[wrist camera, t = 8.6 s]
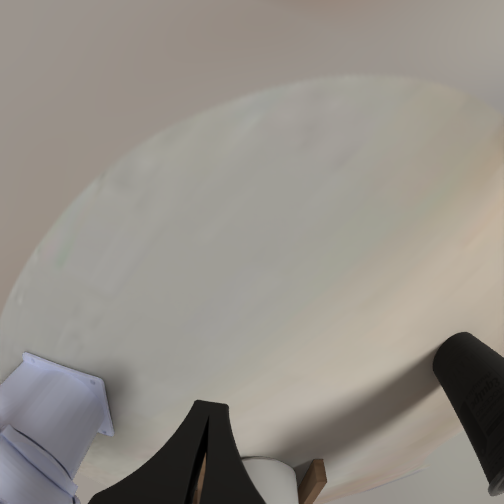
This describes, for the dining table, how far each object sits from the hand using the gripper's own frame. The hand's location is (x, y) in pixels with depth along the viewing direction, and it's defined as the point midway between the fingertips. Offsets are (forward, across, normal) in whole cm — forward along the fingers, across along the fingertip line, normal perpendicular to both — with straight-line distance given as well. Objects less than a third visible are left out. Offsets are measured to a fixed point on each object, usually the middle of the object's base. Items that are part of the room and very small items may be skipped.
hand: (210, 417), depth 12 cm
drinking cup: (+10, -20, +2) cm, 22 cm away
